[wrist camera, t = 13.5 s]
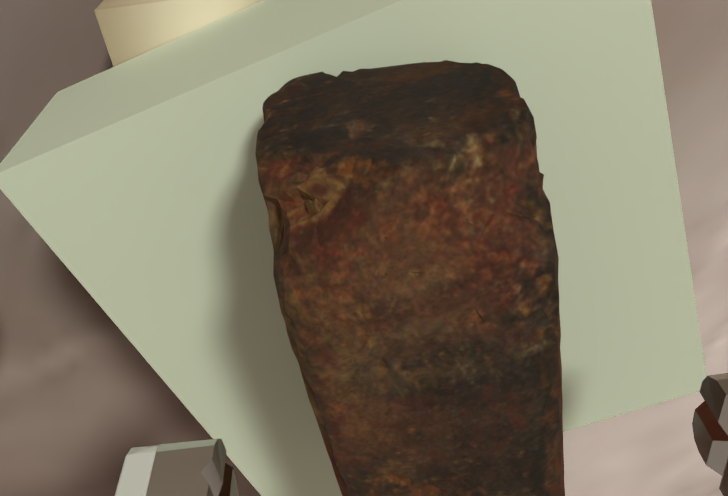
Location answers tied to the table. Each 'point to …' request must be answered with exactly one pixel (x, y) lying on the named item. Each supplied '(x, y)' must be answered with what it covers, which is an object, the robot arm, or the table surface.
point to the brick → (418, 277)
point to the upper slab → (251, 220)
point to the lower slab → (156, 22)
